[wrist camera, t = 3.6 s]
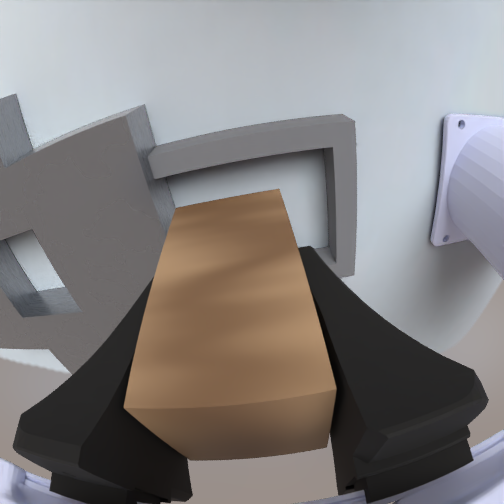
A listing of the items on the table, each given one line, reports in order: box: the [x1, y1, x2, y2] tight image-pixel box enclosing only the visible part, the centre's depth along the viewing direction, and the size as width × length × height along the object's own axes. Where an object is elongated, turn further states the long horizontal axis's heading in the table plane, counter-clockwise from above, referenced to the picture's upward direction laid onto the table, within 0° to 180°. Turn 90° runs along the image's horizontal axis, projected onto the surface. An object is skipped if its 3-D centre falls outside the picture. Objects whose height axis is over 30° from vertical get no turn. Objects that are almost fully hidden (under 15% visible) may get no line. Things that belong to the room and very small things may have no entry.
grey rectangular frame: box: [148, 114, 357, 278], centre depth 14 cm, size 11×8×2 cm
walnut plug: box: [124, 189, 337, 460], centre depth 9 cm, size 4×4×8 cm
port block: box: [0, 94, 175, 374], centre depth 14 cm, size 18×18×2 cm
